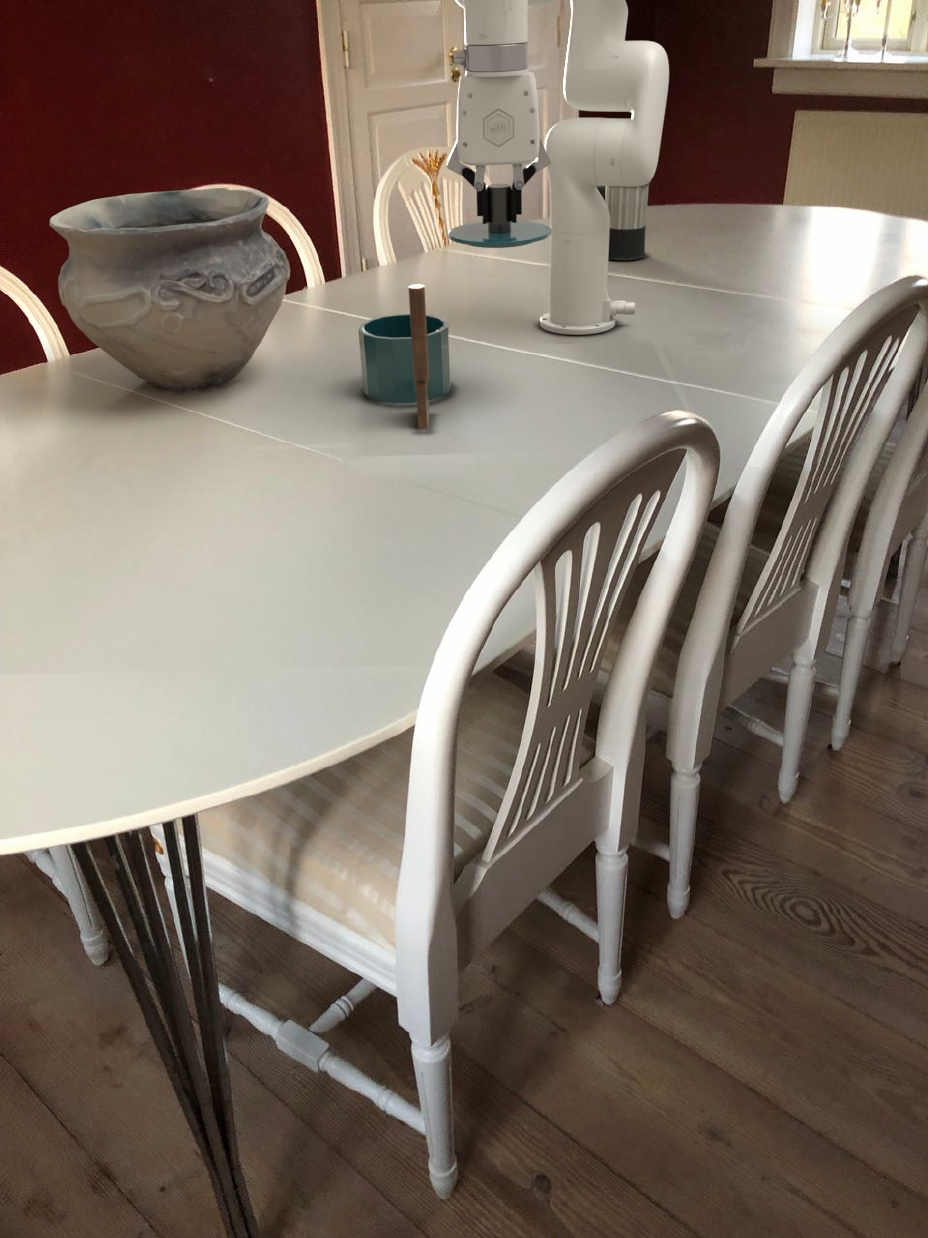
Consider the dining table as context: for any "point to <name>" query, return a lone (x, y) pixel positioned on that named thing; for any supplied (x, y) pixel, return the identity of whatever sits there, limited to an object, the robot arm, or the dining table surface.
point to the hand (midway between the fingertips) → (499, 219)
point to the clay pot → (173, 281)
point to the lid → (499, 225)
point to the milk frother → (626, 220)
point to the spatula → (420, 351)
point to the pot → (402, 358)
